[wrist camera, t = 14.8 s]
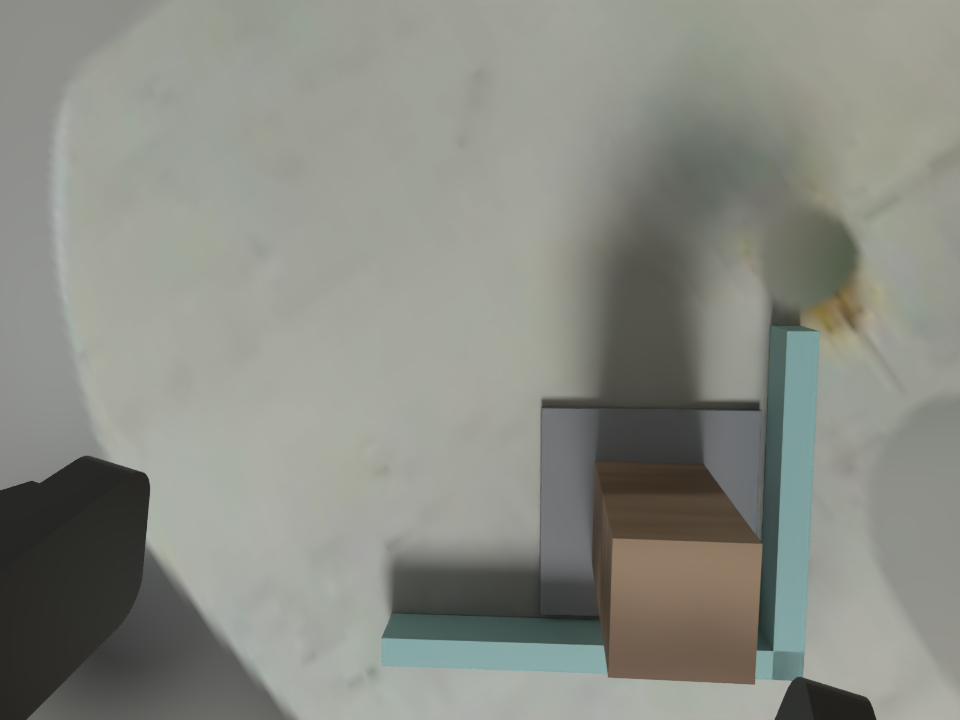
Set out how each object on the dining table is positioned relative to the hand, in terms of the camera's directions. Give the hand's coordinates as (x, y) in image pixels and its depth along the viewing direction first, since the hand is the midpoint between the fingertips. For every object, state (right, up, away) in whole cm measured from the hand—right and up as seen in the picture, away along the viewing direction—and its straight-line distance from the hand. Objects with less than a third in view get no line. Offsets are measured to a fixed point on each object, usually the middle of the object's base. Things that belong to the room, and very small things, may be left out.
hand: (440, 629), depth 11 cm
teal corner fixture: (+5, -2, +27) cm, 27 cm away
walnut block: (+8, -3, +26) cm, 28 cm away
